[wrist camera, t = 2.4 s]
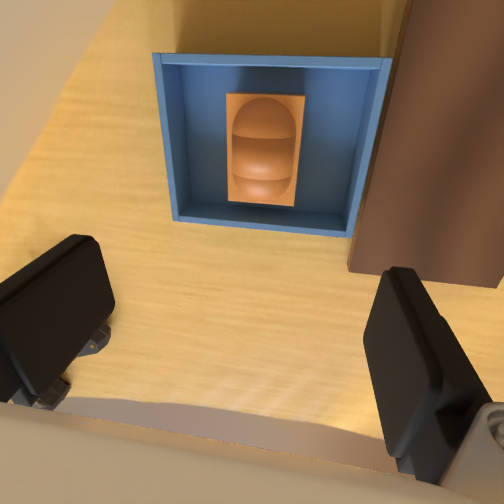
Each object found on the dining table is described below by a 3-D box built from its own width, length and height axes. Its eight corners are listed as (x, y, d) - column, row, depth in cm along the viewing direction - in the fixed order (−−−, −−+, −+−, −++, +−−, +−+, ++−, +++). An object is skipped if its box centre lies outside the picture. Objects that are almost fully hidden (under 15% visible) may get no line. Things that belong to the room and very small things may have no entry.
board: (659, -39, 16) (689, -48, 15) (487, 279, 28) (496, 289, 27) (414, -34, 18) (422, -42, 17) (346, 264, 29) (348, 272, 28)
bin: (379, 60, 21) (393, 57, 17) (346, 218, 27) (352, 238, 24) (174, 56, 23) (151, 52, 19) (188, 204, 29) (172, 221, 26)
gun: (128, 368, 37) (24, 287, 33) (42, 420, 48) (-44, 365, 44) (146, 340, 41) (56, 264, 37) (62, 394, 52) (-14, 341, 48)
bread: (305, 93, 22) (305, 97, 18) (295, 193, 26) (292, 215, 22) (235, 91, 23) (219, 94, 19) (236, 188, 27) (222, 209, 23)
